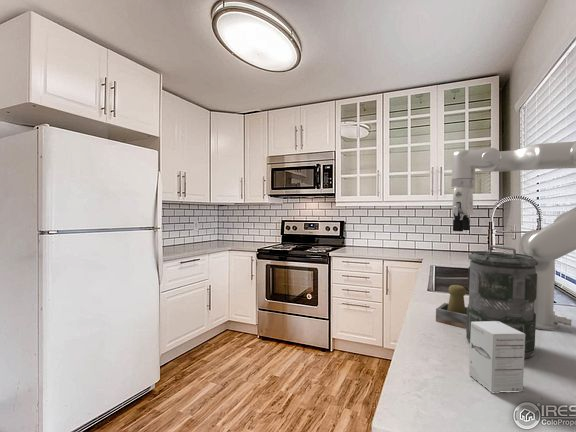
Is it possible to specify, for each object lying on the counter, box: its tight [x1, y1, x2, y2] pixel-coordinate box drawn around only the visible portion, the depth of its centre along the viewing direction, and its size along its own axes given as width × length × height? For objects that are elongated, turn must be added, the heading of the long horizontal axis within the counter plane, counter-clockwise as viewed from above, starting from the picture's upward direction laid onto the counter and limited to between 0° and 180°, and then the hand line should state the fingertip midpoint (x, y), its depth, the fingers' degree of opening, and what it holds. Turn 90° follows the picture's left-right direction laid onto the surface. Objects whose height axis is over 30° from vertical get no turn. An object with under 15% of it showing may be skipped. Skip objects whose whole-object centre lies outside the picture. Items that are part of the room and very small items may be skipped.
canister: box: [465, 244, 538, 359], centre depth 88 cm, size 16×16×28 cm
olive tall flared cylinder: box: [447, 284, 467, 314], centre depth 108 cm, size 6×6×11 cm
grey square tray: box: [435, 302, 468, 329], centre depth 108 cm, size 10×10×4 cm
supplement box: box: [468, 321, 525, 393], centre depth 69 cm, size 7×7×13 cm
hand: (461, 230), depth 117 cm, fingers open, 9 cm apart
